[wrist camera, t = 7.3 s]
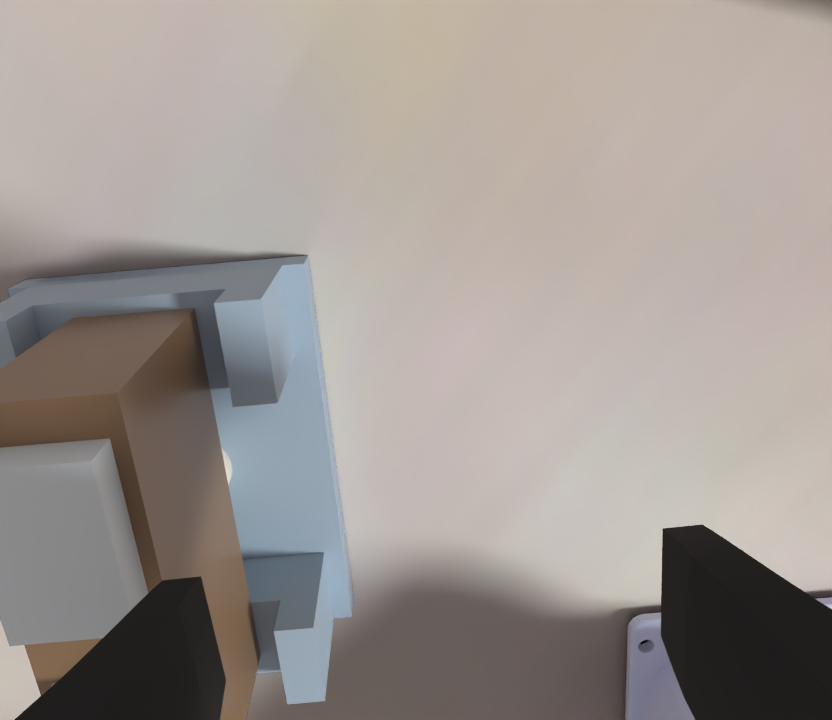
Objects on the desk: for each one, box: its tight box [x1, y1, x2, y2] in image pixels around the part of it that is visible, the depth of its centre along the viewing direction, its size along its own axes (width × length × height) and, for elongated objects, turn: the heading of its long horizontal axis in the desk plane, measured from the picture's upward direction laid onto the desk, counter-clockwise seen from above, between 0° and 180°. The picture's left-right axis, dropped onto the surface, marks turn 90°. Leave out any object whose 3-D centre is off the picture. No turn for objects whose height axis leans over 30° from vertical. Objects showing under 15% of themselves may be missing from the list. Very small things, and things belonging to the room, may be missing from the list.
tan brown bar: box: [0, 308, 261, 720], centre depth 15 cm, size 10×3×6 cm, turn 4°
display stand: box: [0, 255, 353, 704], centre depth 19 cm, size 11×8×4 cm
